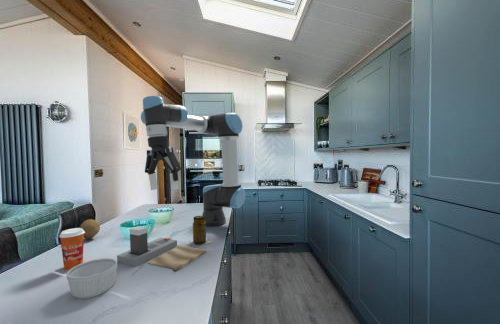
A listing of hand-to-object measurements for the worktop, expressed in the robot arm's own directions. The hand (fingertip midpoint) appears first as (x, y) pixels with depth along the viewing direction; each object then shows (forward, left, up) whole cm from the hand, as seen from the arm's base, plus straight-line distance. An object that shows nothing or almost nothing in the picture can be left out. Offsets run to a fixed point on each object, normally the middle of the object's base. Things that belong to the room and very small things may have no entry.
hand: (164, 189), depth 96 cm
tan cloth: (-2, +4, -28) cm, 28 cm away
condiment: (-20, +1, -28) cm, 34 cm away
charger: (+5, -10, -27) cm, 29 cm away
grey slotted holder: (0, -10, -28) cm, 29 cm away
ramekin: (+26, -5, -28) cm, 39 cm away
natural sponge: (-2, -54, -28) cm, 60 cm away
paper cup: (+20, -27, -28) cm, 43 cm away
